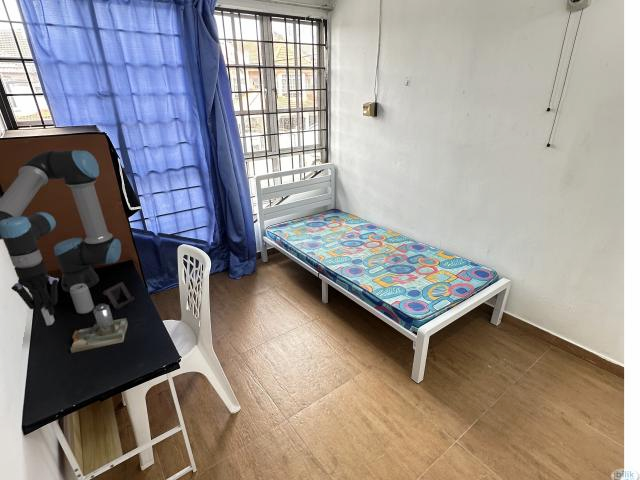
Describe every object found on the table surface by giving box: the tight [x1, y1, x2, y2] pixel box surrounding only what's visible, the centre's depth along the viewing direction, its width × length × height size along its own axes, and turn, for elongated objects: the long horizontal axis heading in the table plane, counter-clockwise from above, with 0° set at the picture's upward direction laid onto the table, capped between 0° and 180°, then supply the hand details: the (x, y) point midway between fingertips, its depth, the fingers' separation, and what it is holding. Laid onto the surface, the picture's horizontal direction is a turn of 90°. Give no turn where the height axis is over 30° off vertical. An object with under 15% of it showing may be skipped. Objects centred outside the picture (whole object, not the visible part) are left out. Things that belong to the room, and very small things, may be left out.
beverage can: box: [69, 283, 95, 315], centre depth 141 cm, size 6×6×12 cm
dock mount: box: [70, 318, 129, 354], centre depth 126 cm, size 12×16×4 cm
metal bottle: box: [92, 302, 116, 336], centre depth 125 cm, size 5×5×12 cm
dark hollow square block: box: [102, 281, 135, 311], centre depth 147 cm, size 9×8×8 cm
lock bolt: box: [72, 329, 92, 343], centre depth 124 cm, size 4×5×2 cm
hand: (50, 322), depth 118 cm, fingers closed
